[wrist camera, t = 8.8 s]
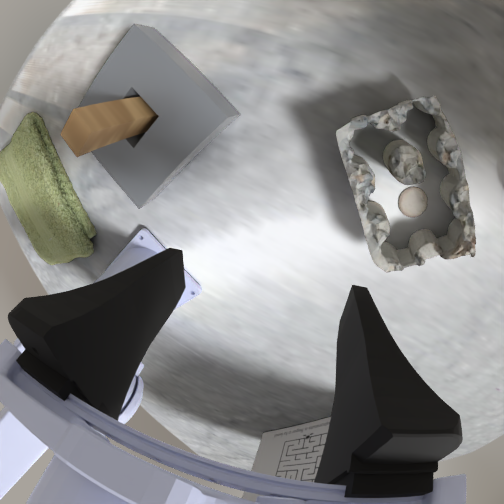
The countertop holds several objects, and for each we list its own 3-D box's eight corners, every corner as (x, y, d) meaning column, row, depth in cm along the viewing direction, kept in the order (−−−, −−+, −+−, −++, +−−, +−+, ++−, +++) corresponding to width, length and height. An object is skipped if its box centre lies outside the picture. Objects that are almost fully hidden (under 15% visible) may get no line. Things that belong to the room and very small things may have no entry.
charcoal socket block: (156, 197, 23) (139, 209, 21) (89, 118, 20) (69, 123, 18) (240, 114, 18) (228, 117, 16) (154, 27, 15) (134, 23, 13)
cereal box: (292, 447, 42) (256, 566, 22) (262, 431, 41) (216, 560, 20) (404, 418, 31) (385, 582, 10) (379, 398, 29) (350, 591, 9)
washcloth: (57, 263, 33) (42, 275, 31) (6, 153, 26) (-11, 162, 24) (108, 244, 28) (90, 260, 26) (46, 101, 21) (23, 107, 18)
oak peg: (152, 130, 20) (76, 157, 13) (137, 113, 19) (60, 134, 13) (167, 112, 19) (91, 132, 12) (152, 94, 18) (73, 108, 12)
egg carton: (459, 233, 18) (478, 263, 14) (372, 256, 21) (377, 289, 17) (432, 91, 13) (456, 93, 10) (328, 118, 17) (327, 125, 13)
